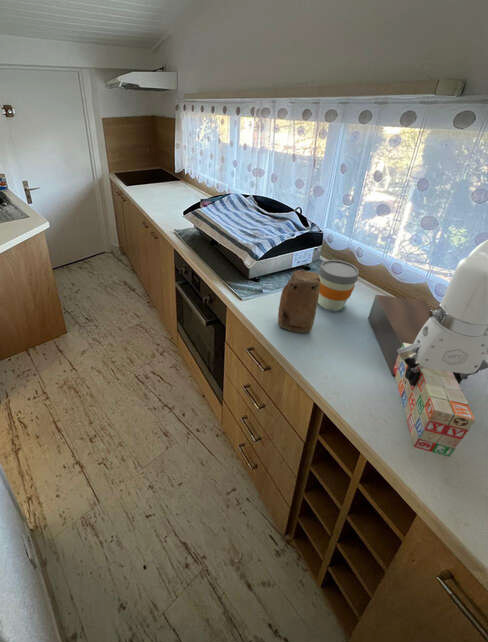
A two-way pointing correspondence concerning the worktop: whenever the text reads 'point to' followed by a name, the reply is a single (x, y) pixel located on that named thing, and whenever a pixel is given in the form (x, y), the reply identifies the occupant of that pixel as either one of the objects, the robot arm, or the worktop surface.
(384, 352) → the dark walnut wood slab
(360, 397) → the worktop surface
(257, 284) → the worktop surface
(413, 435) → the stack of blocks
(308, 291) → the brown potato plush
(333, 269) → the reusable coffee cup
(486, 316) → the robot arm
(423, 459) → the worktop surface
